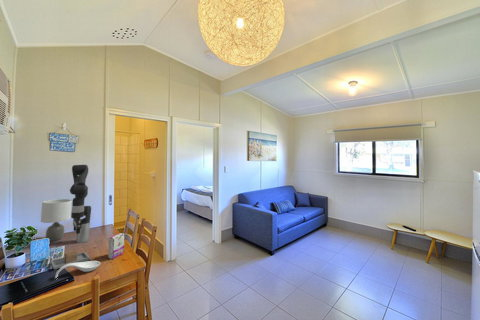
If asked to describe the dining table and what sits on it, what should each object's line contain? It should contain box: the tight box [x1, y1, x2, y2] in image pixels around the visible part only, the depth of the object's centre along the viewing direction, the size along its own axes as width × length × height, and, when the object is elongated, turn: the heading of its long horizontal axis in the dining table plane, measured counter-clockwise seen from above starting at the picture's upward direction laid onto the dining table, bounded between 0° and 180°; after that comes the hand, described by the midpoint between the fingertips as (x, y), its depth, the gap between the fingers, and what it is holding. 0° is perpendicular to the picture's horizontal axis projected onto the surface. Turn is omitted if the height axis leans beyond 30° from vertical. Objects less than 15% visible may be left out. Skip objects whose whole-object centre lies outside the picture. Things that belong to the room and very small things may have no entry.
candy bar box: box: [107, 232, 126, 260], centre depth 157 cm, size 11×5×16 cm, turn 168°
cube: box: [64, 250, 78, 263], centre depth 144 cm, size 6×6×6 cm
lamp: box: [40, 198, 73, 242], centre depth 184 cm, size 21×21×37 cm
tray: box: [50, 251, 91, 270], centre depth 144 cm, size 14×20×2 cm
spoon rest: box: [54, 260, 101, 279], centre depth 131 cm, size 24×12×7 cm, turn 133°
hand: (76, 232), depth 148 cm, fingers open, 8 cm apart
